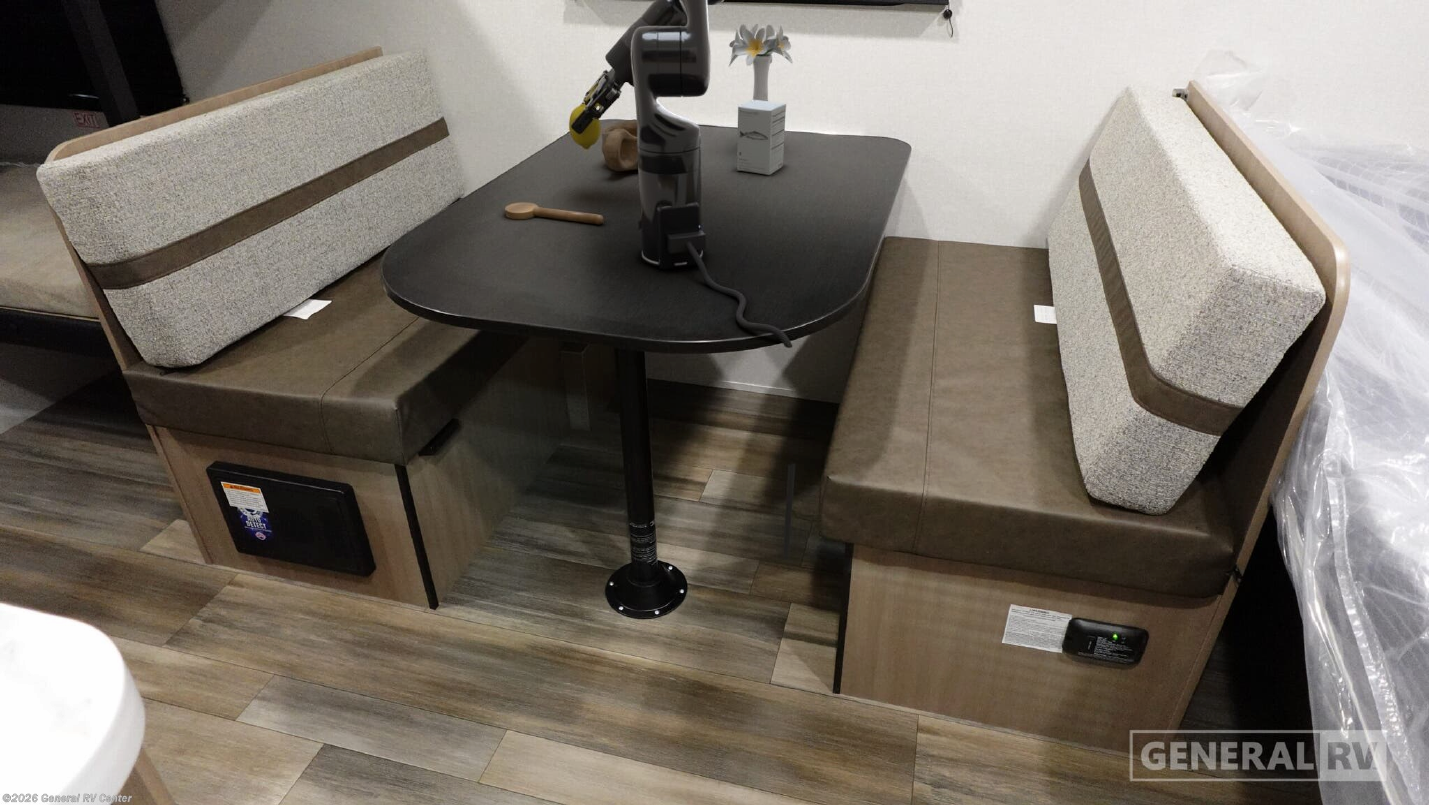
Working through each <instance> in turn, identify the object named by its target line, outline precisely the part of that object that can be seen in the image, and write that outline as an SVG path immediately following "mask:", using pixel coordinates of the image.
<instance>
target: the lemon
mask: <svg viewBox="0 0 1429 805" xmlns="http://www.w3.org/2000/svg"><path fill="white" fill-rule="evenodd" d="M585 106H586V105H585V104H581V103H580V104H579V105H577V106H576V107H575V108H574V109H573V110H572V111H571V113H570V116H569V120H568V131H569V134H570V137H571V139H572V141H574V143H576V144H577V146H580V147H582V148H583V149H584V150H589V149H590V148H591V147H592V146H593V145H595V144H596V143H597V142H598V140H599V139H600V136H601V133H602V130H601V129H602V128H601V121H600V119H598V120H597V119H594V120H593V121H592V122H591V123H590V124H589V126H588V127H587V128H586V129H585V130H584V131H583V132H582V134H578V133H576V132H575V131H574V130H573V129H572V128H571V124H572V123H573V122H574V121H575V119H576V118H577V117H578V116H579V115H580V114H581V112H582V111H583V110H584V109H585Z"/></svg>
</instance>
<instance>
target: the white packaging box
mask: <svg viewBox="0 0 1429 805" xmlns="http://www.w3.org/2000/svg"><path fill="white" fill-rule="evenodd" d="M786 110H787V103H786V102H785V103H784V102H776V101H770V100H768V101H761V100H753V99H751V100H749V101H746V102H744V103H742V104H740V105H739V106H737V143H736V146H737V148H736V171H740V172H741V171H742V172H749V173H754V174H761V175H766V176H770V175H772V174H773V173H775V172H777V171H778V170H780V169H781V168H782V167H783V166H784V155H785V154H784V152H785V134H786V133H785V132H786V112H787V111H786Z"/></svg>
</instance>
